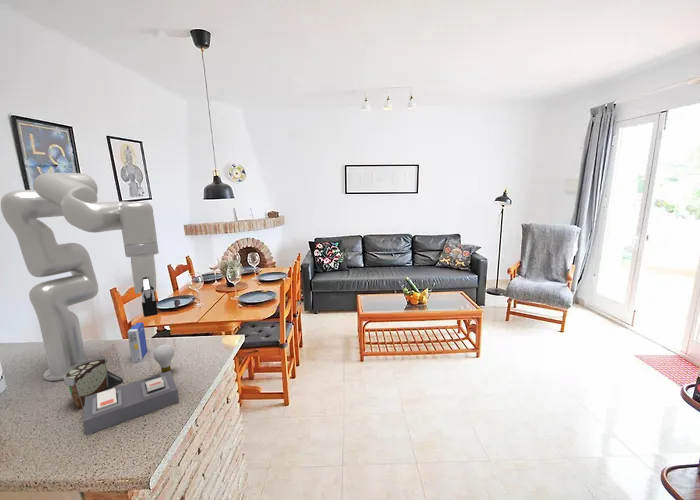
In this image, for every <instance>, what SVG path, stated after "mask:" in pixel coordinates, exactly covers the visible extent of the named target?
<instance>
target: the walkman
mask: <svg viewBox="0 0 700 500" xmlns="http://www.w3.org/2000/svg"><path fill="white" fill-rule="evenodd" d="M127 336H128V337H127V338H128V345H129V350H130V357H131V358H130V359H131V363H140V362H142V360H143V358H144V357H145V356H146V354H147V352H148V347H147V339H146V331H145V325H144V322H135V323H133V325H132V326H131V327H130V329H128V331H127Z"/></svg>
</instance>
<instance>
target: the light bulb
mask: <svg viewBox="0 0 700 500" xmlns="http://www.w3.org/2000/svg"><path fill="white" fill-rule="evenodd" d="M174 355H175V349H174V348H173V346H172V345H170V344H167V343H164V344H160V345H158V346H157V347H156V348H155V349H154V352H153V359H154V360H155V362H157V363H158V365H159V367H160V370H161V374H162V373H165V372H168V371H171V370H172V369H171V368H172V367H171V365H172V360H173V358H174Z"/></svg>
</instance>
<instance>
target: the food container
mask: <svg viewBox="0 0 700 500" xmlns="http://www.w3.org/2000/svg"><path fill="white" fill-rule="evenodd" d="M108 362H109V361H108V359H107V357H106V356H100V357H94V358H89V360H86V361H83V362H80V363H78V364H76V365H74V366H72V367H71V368H69V369H68V370H67V371H66V373H65V376H64V380H63V383H64V385H66V386H68V389H69V392H70V396H71V398H72V400H73V403H74V407H76V408H77V409H83V410H84V404H85V397H86V396H90V395H93V394H96V393H99V392H103V389H104V388H106V387H108V379H107V371H108V370H107V368H108V367H107V363H108Z"/></svg>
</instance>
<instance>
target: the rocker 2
mask: <svg viewBox="0 0 700 500" xmlns="http://www.w3.org/2000/svg"><path fill="white" fill-rule="evenodd" d="M146 387H147V391H148V392H149V391H152V390H155V389H158V388H161V387H164V382H163V380H162V377H160V378H157V379H153V380H150V381H147V382H146Z"/></svg>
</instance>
